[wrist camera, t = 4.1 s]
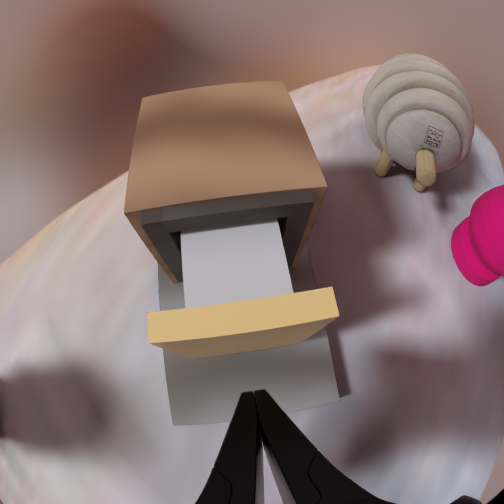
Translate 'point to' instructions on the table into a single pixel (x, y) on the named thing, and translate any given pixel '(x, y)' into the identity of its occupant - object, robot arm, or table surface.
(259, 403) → the robot arm
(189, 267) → the tan drawer
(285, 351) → the wooden drawer box
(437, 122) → the toy sheep
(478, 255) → the pepper mill
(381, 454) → the table surface
